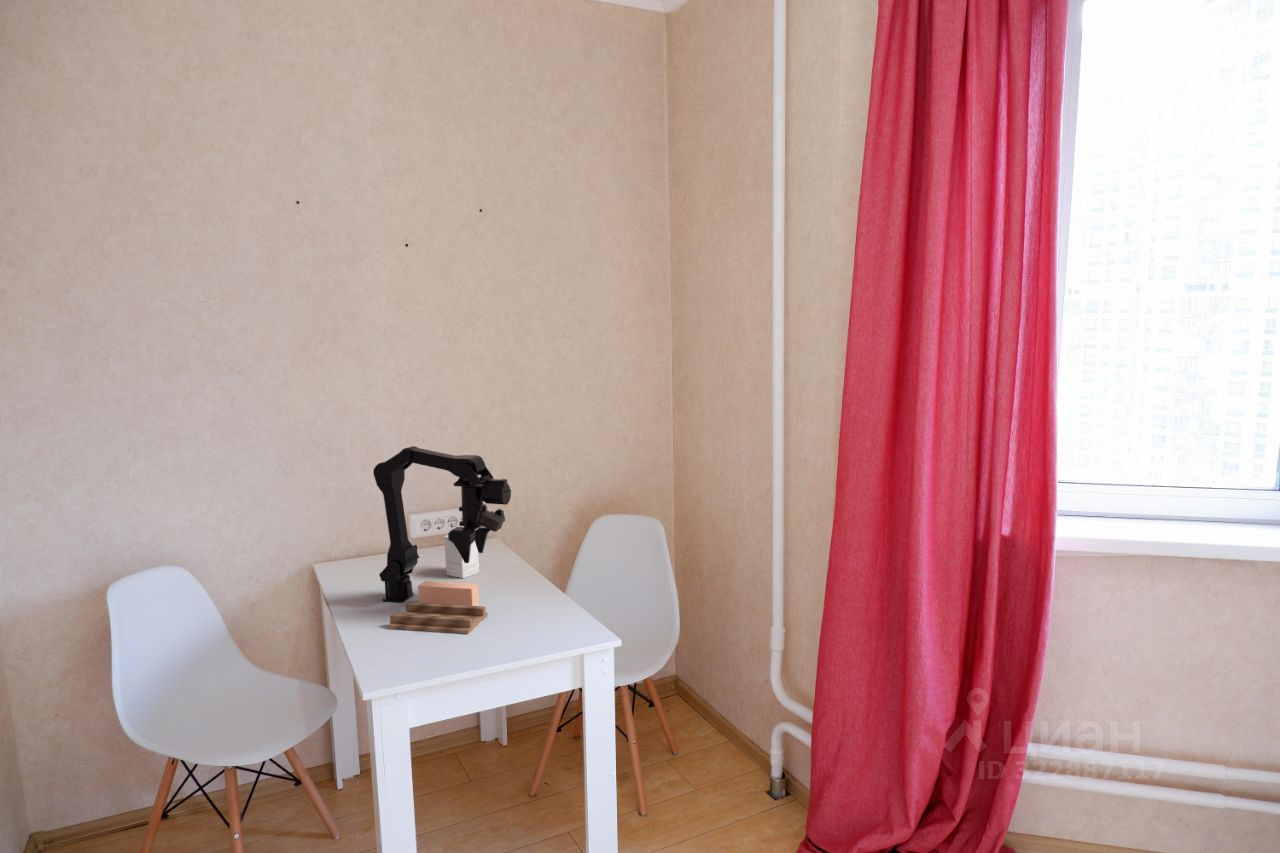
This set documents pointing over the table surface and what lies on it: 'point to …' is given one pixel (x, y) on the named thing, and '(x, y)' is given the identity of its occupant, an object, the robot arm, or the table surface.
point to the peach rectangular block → (448, 593)
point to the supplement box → (460, 560)
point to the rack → (438, 618)
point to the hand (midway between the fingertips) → (473, 557)
